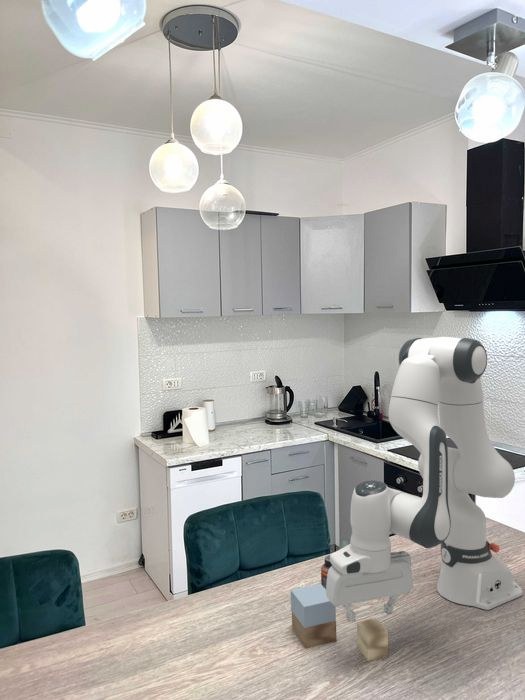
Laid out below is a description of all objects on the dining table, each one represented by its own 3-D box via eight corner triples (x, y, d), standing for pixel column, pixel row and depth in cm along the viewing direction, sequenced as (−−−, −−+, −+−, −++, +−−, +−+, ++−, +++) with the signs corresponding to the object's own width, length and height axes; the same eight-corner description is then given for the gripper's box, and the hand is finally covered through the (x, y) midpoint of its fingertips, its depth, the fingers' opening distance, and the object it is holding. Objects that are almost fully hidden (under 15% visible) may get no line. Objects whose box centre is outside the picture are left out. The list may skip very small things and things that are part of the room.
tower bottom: (322, 623, 128) (321, 603, 128) (336, 642, 121) (336, 621, 120) (292, 629, 126) (291, 609, 125) (304, 649, 118) (304, 628, 118)
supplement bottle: (343, 606, 135) (342, 564, 134) (320, 604, 136) (319, 562, 136) (344, 594, 141) (343, 553, 140) (322, 592, 142) (321, 552, 142)
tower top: (320, 603, 128) (320, 583, 128) (335, 620, 121) (335, 599, 120) (291, 609, 125) (290, 589, 125) (304, 628, 118) (304, 606, 118)
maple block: (376, 643, 120) (376, 617, 119) (388, 656, 115) (387, 630, 114) (357, 647, 118) (356, 622, 118) (368, 661, 113) (367, 634, 113)
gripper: (403, 544, 121) (402, 601, 122) (323, 556, 115) (323, 616, 116) (418, 555, 115) (418, 615, 116) (335, 568, 109) (335, 632, 110)
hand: (370, 616), depth 116 cm, fingers open, 8 cm apart
